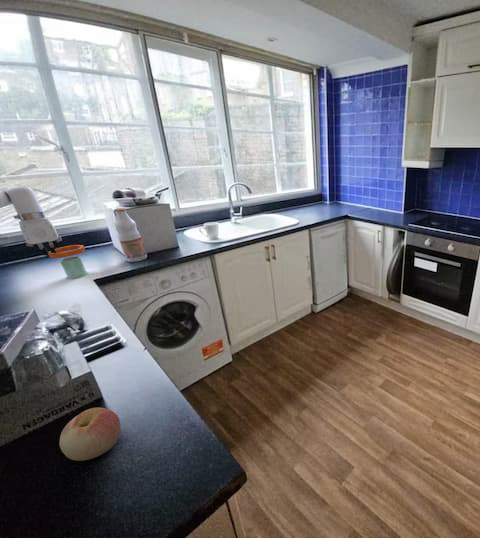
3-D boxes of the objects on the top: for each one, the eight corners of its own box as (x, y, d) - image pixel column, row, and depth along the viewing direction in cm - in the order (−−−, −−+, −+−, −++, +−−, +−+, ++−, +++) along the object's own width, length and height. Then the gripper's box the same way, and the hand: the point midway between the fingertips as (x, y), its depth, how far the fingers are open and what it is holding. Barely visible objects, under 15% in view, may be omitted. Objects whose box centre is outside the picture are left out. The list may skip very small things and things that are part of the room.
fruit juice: (122, 262, 158) (103, 210, 147) (137, 256, 166) (120, 206, 155) (137, 263, 156) (118, 210, 145) (151, 256, 165) (135, 206, 154)
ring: (49, 260, 130) (47, 255, 129) (49, 253, 138) (48, 249, 137) (86, 252, 137) (84, 248, 137) (84, 247, 146) (82, 243, 145)
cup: (68, 280, 138) (60, 262, 134) (67, 276, 142) (59, 258, 139) (87, 275, 142) (80, 258, 139) (86, 271, 147) (79, 255, 143)
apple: (106, 424, 64) (92, 397, 61) (136, 434, 62) (123, 406, 59) (59, 462, 57) (40, 434, 53) (91, 476, 54) (73, 446, 51)
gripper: (4, 221, 119) (26, 262, 127) (56, 214, 129) (74, 253, 136) (6, 218, 124) (27, 258, 132) (56, 212, 134) (73, 249, 142)
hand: (51, 255), depth 134 cm, fingers closed on ring, 1 cm apart
